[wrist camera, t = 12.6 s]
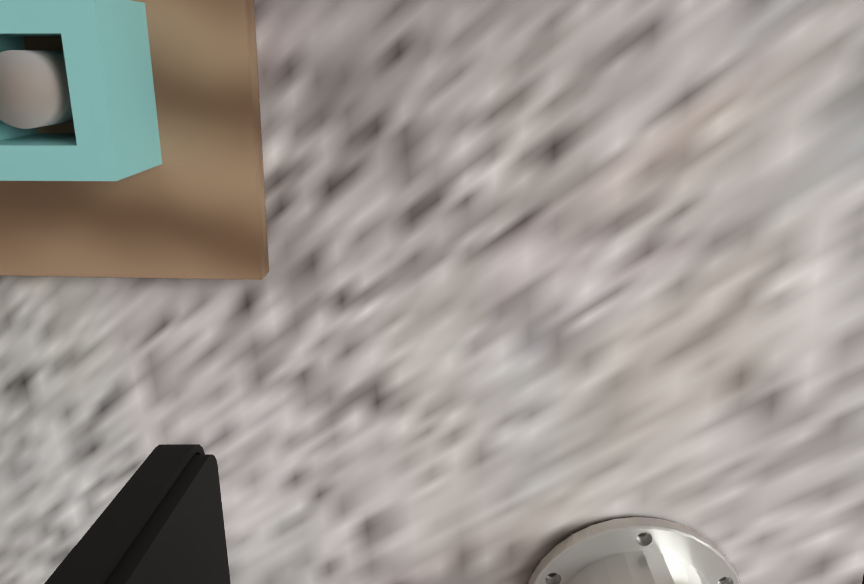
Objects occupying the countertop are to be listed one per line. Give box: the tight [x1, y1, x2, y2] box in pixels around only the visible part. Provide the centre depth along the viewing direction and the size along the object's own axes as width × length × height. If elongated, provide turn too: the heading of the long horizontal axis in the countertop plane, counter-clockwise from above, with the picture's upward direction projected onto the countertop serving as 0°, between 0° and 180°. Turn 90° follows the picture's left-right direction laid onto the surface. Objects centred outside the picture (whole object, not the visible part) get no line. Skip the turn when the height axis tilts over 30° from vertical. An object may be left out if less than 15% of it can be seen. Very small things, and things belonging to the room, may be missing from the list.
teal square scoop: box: [0, 0, 162, 181], centre depth 30 cm, size 13×7×5 cm, turn 0°
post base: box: [0, 0, 269, 280], centre depth 32 cm, size 18×16×6 cm
